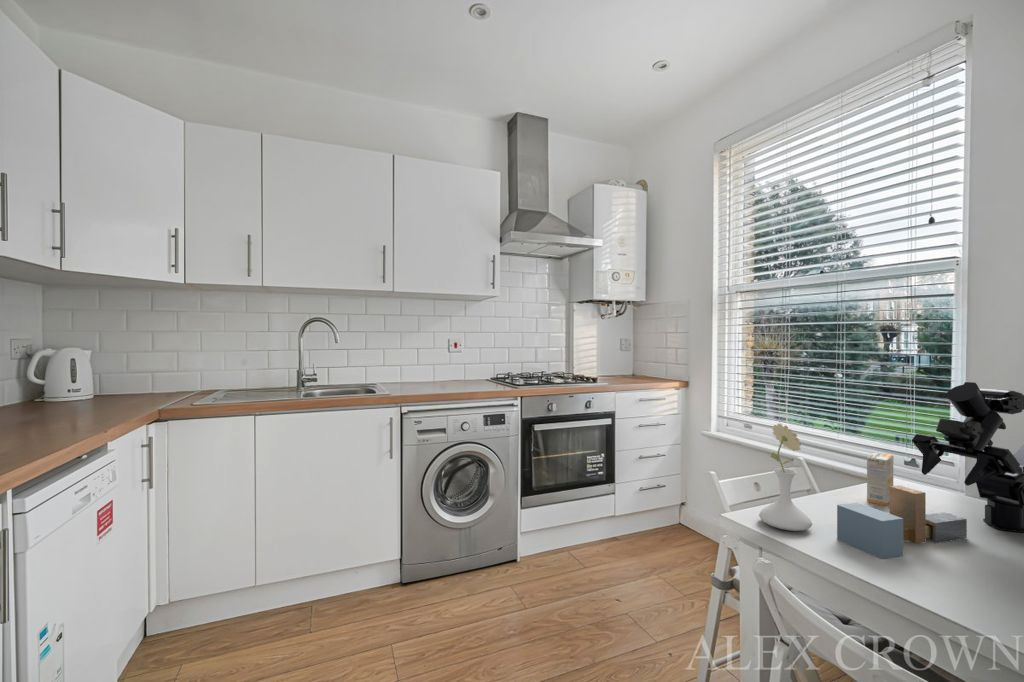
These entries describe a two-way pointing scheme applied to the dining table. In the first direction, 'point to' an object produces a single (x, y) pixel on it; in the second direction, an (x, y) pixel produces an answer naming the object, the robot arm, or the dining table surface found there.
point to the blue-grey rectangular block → (870, 530)
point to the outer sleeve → (946, 527)
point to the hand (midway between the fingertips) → (943, 478)
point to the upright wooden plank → (911, 513)
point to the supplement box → (879, 478)
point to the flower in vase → (785, 489)
